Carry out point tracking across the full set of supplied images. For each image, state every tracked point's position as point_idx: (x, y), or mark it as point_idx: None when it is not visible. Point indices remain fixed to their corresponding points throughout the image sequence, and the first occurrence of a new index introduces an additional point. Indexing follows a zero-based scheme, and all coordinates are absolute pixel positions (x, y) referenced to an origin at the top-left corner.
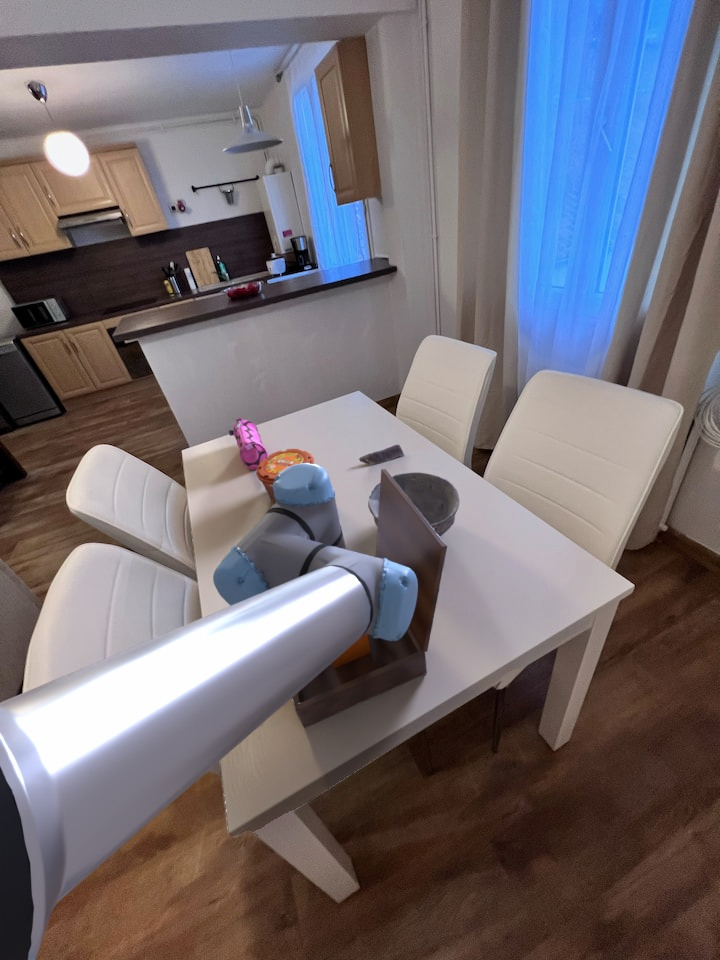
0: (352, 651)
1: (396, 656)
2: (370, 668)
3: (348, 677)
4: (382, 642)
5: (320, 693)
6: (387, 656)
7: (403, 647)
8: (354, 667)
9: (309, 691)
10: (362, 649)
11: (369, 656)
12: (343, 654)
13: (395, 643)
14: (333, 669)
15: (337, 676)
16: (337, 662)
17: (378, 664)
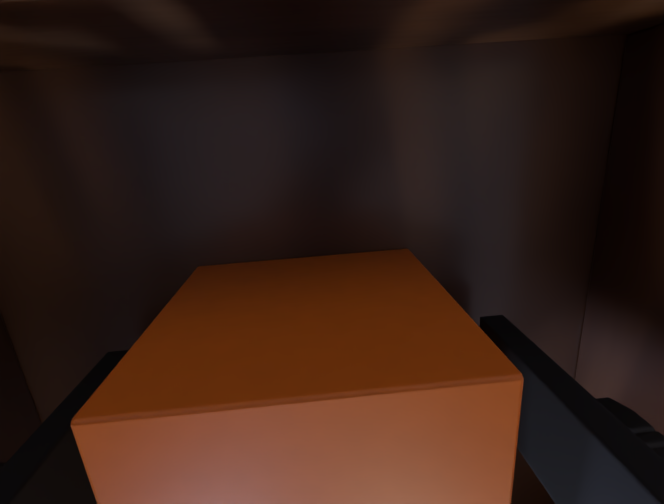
0: (291, 288)
1: (54, 197)
2: (221, 180)
3: (352, 174)
4: (124, 300)
5: (517, 141)
6: (110, 215)
7: (3, 235)
8: (306, 217)
9: (562, 174)
10: (228, 285)
11: (211, 248)
12: (354, 286)
13: (48, 272)
14: (414, 244)
15: (406, 200)
16: (393, 262)
17: (171, 187)
